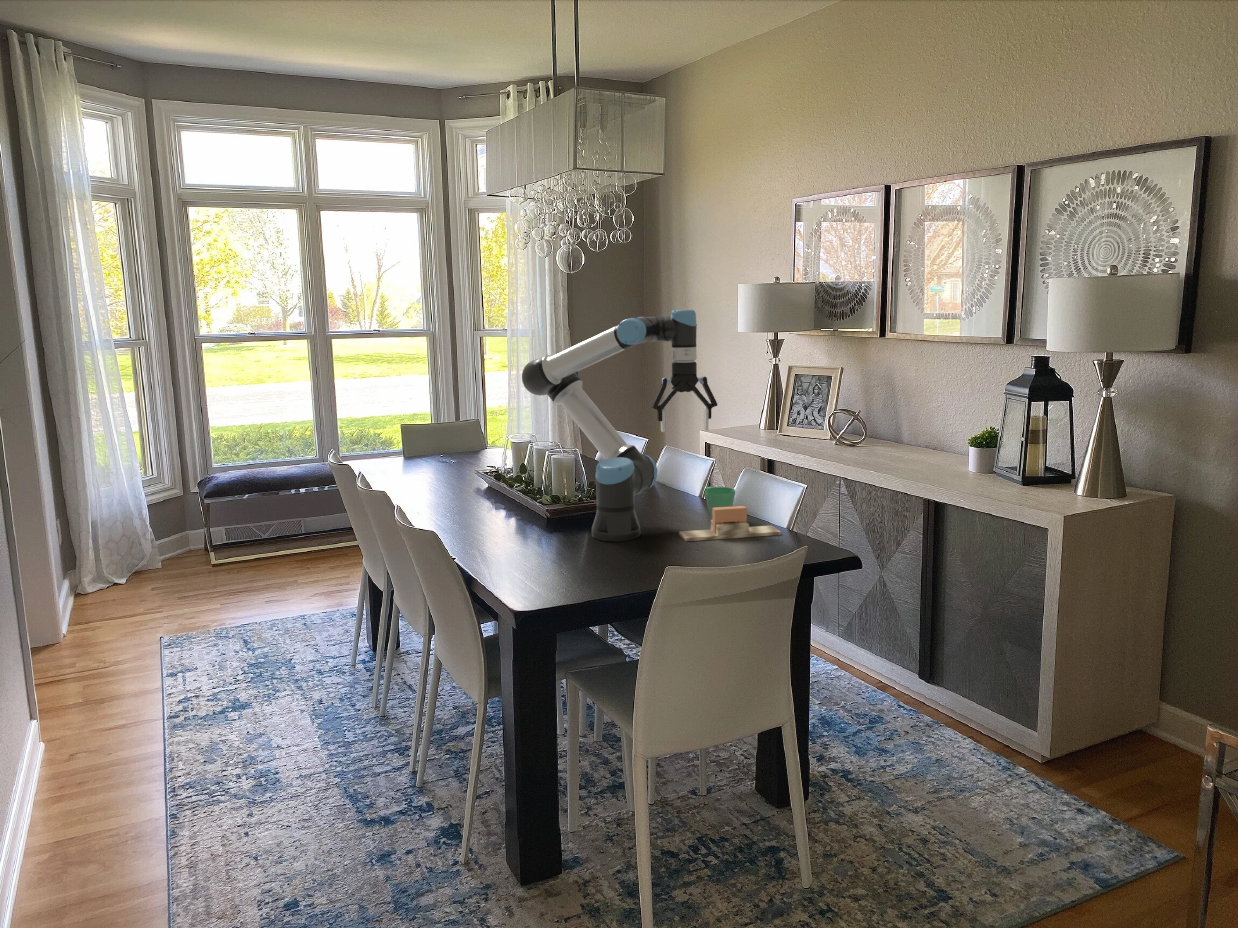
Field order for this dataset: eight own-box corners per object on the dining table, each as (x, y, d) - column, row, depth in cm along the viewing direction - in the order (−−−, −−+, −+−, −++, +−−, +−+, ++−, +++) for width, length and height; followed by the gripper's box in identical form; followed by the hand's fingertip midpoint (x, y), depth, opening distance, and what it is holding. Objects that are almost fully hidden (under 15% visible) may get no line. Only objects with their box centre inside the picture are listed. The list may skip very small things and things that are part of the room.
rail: (685, 541, 277) (685, 528, 276) (679, 534, 285) (678, 522, 284) (780, 534, 282) (780, 522, 282) (771, 528, 290) (772, 516, 289)
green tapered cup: (740, 521, 299) (740, 491, 297) (713, 524, 296) (713, 494, 294) (720, 512, 313) (719, 483, 311) (693, 515, 309) (693, 485, 307)
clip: (715, 533, 281) (715, 509, 280) (712, 531, 284) (712, 507, 283) (746, 531, 283) (746, 507, 281) (743, 529, 286) (743, 505, 284)
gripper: (646, 363, 274) (647, 434, 278) (727, 360, 278) (727, 430, 282) (641, 361, 281) (642, 430, 285) (720, 359, 285) (720, 427, 289)
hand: (684, 430), depth 283 cm, fingers open, 13 cm apart
